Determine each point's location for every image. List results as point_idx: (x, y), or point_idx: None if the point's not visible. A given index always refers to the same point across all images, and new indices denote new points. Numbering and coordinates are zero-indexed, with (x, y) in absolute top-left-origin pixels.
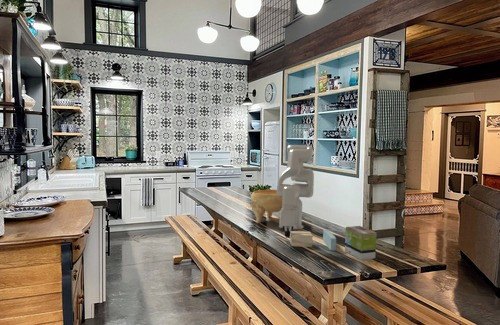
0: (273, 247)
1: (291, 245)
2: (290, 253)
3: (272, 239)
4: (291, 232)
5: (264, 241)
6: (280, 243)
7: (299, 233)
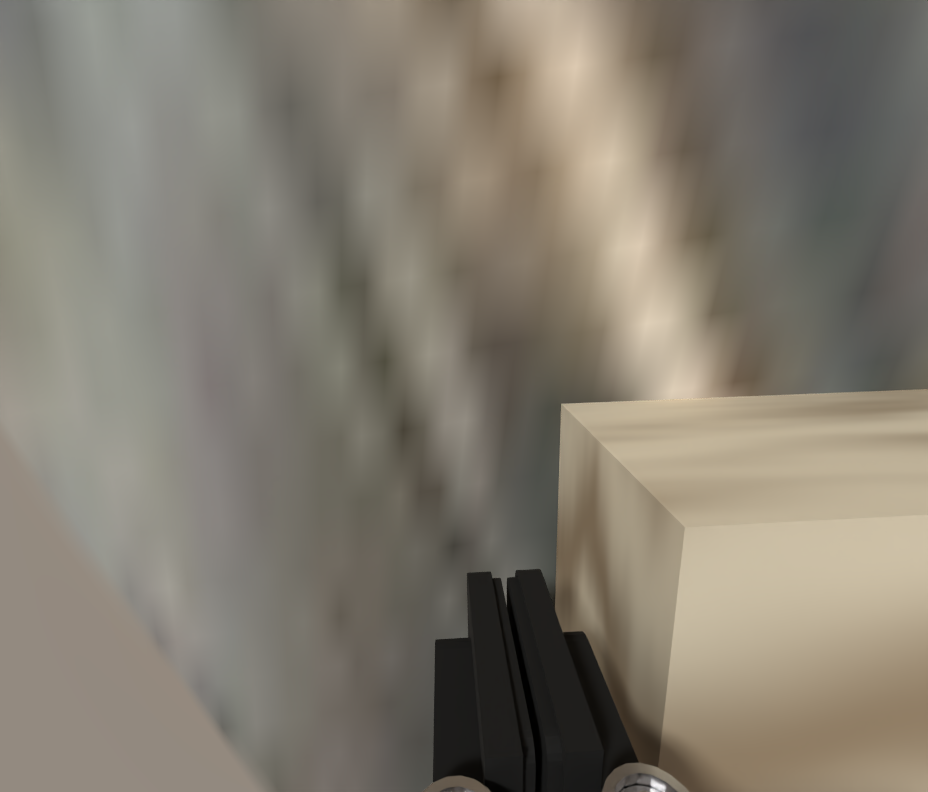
0: (241, 736)
1: (555, 598)
2: None
3: (172, 244)
4: (681, 685)
5: (14, 432)
6: (361, 515)
7: (923, 745)
